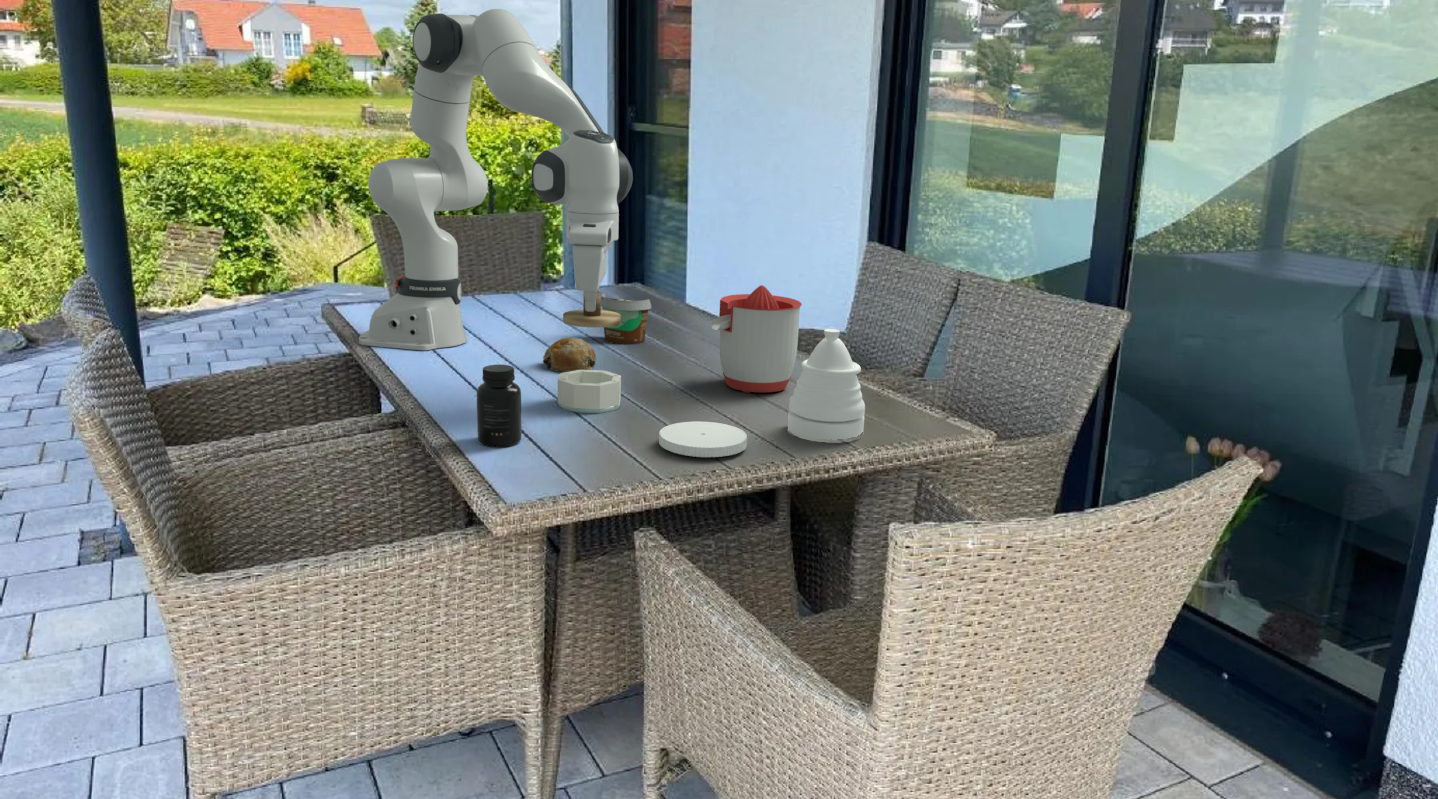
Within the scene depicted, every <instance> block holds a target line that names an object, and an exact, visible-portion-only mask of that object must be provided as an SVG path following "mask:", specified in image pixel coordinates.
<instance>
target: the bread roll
mask: <svg viewBox="0 0 1438 799" xmlns="http://www.w3.org/2000/svg"><path fill="white" fill-rule="evenodd" d="M542 358H543V359H542V363H543V364H544V365H546V368H547V369H549V370H551V371H554V372H559V373H565V372H570V371H576V370H594V367H595V365H596V360H597V358H596V353H595V350H594V349H593V347H592V346H591V344H589V343H588V342H586V341H584V340H583V339H582V338H576V337H564V338H561V339H559V340H557V341H555V342H553V343H552V344H551V345H550V346H549V347H548V348H546V349H545V352H544V355H543V356H542Z"/></svg>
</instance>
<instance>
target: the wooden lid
mask: <svg viewBox="0 0 1438 799" xmlns="http://www.w3.org/2000/svg"><path fill="white" fill-rule="evenodd" d="M601 297H602V292H601V291H600V290H599V291H597V292H596V309H595V311H593V312H590V311H586V310H585V298H584V297H583V307H582V309H576V310H575V309H574V310H569V311H565V312H564V313H563V314H562V322H563V323H564V324H565V325H570V326H572V327H573V326H574V327H579V328H580V327H581V328H604V327H610V326H615V325H618V324H620V323H621V315H620V314H619V313H616V312H612V311H606V310H603V309H601V308H602V307H601Z"/></svg>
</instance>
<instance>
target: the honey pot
mask: <svg viewBox="0 0 1438 799" xmlns="http://www.w3.org/2000/svg"><path fill="white" fill-rule="evenodd" d="M840 332H841V331H840V330H839V329H834V328H825V329H823V334H824V338H823V339H821V341H819V343H818V344H817V345H816V346H815V347H814V349H813V351H811V354H810V355H809V357H808V359H805V360H803V361H802V362H801V363H800V366H801V369H802V371H801V374H800V376H799V378H797V380H796V386H795V387H794V389H793V394H792V395H791V396H790V398H789V400H788V402H789V403H788V404H789V405H788V414H787V415H788V416H787V418H788V419H787V427H788V429H787V431H788V430H790V431H791V432H792V433H796V434H798V435H800V436H803V437H810V438H816V439H827V440H830V439H832V440H837V439H847V438H851V437H857V436H858V435H860V434H861V433H862V432H863V433H864V427H865V413H866V412H865V411H866V405H865V401H864V400H863V393H862V391H861V388H862V387H861V383H859V379H858V376H857V375H859V373H860V372H861V371H862V368H861V366H860V365H859V364H858V363H857V362H854V361H853V360H852V357H851V355H850V352H849V350H848V349H847V346H845V343H844V342H843V341H842V340H841V339H840V338H839V336H840Z"/></svg>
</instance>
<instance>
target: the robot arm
mask: <svg viewBox="0 0 1438 799" xmlns="http://www.w3.org/2000/svg"><path fill="white" fill-rule="evenodd" d="M412 49H413V53H414V56H415V58H416V60H417V62H418V67H417V70H416V74H415V75H416V76H415V80H414V87H413V94H412V95H413V96H412V102H411V103H412V104H411V109H410V119H409V123H410V127H411V129H412V132H413V133H414V134H415V136H416V137H417V138H418V139H420V141H422V142H424V143H425V144H427V145H429V156H428V157H421V158H420V157H409V158H408V157H406V158H405V157H398V158H395V159H389V160H384V161H381V162H377V163H376V164H375V165H374V167H373V168H372V170H371V172H370V173H369V177H368V185H367V186H368V191H369V194H370V197H371V200H373V202H374V203H375V205H376V206H377V207H378V208H380V209H381V210H382V211H384V212H385V213H386V214H387V215H388V216H389V217H390V218H391V220H392V221H393V222H394V224H395V225H396V227H397V229H398V232H399V234H400V237H401V241H402V246H403V247H402V248H403V260H404V273H403V274H401V275H400V276H398V278H397V279H396V280H395V282H394V287H395V290H396V292H397V293H396V294H394V295H393V296H392V297H390V298H389V299H388V300H386V301H385V302H384V303H383V304H381V305H380V306H379V307H377V308H376V309H375V310H374V311H373V312H372V314H371V317H370V323H369V328H368V329H369V330H366V331H365V332H363V333H362V334H360V335H359V337H358V343H359V345H361V346H369V347H379V348H380V347H381V348H392V349H404V350H413V351H414V350H415V351H416V350H417V351H429V350H436V349H441V348H450V347H456V346H459V345H463V344H464V343H466V342H468V338H467V335H466V332H465V327H464V324H463V318H462V312H461V304H460V303H461V302H462V282H461V277H460V276H459V246H458V245H459V244H458V243H457V240H456V239H455V237H454V236H453V235H452V234H450V233H449V232H448V231H446V230H444V229H442V228H440V227H439V226H438V224H437V222H436V220H435V212H444V211H445V212H447V211H448V212H449V211H453V212H454V211H463V210H466V209H470V208H473V207H474V208H475V207H476V206H480V205H481V204H482V203H483V201H484V199H485V198H486V196H487V193H488V186H489V185H488V184H489V183H488V177H487V175H486V172H485V170H484V169H483V167H482V166H481V165H480V164H479V163H478V162H477V161H476V160H475V159H474V157H473V156H472V154H471V151H470V149H469V145H468V138H467V131H468V130H467V129H468V117H469V111H470V110H469V109H470V103H471V96H472V88H473V87H472V86H473V79H474V78H475V76H478V77H479V76H481V77H482V78H483V79H484V81H485V83H486V86H487V88H488V89H489V91H490V93H491V94H492V95H493V97H494V99H496V101H497V102H499V104H500V105H502V106H503V107H505V108H506V109H508V110H510V111H513V112H517V113H519V114H520V113H521V114H524V115H527V116H531V117H536V118H538V119H542V120H544V121H546V122H549V123H552V124H553V125H556V126H557V127H559V128H560V129H561V130H562V131H563V132H564V133H565V134H566V136H567V138H568V139H567V140H566V141H565V142H563V143H562V144H560V145H558V146H556V147H552V148H550V149H545V150H543V151H541V152H540V153H539V154H538V156H537V157H536V158H535V159H534V162H533V164H532V168H531V184H532V187H533V190H534V192H535V194H536V195H537V197H538V198H540V199H541V201H543V202H544V203H547V204H551V205H567V209H566V238H567V239H568V244H569V245H572V264H573V273H574V274H573V276H574V283H575V288H576V290H577V291H581V292H583V299H584V298H585V310H586V311H590V312H593V311H595V309H596V292H597V291H599V292H600V287H601V284H602V282H603V280H604V278H605V276H606V274H607V269H608V251H609V250H612V249H611V248H612V245H611V244H612V242H615V241H618V240H619V229H620V228H619V222H620V220H619V219H620V218H619V216H620V213H619V211H620V210H619V204H620V203H621V202H622V201H623V200H624V199H625V198H626V197H627V196H628V193H629V191H630V190H631V188H632V186H633V185H632V184H633V181H634V176H633V168H632V166H631V164H630V162H629V159H628V158H627V157H626V155H625V154H624V153H623V152H622V151H621V149H620V148H618V145H617V142H616V139H615V138H614V137H613V136H611V135H610V134H608V133H606V132H604V130H603V129H602V127H601V125H600V124H599V123H598V121H597V120H596V118H595V117H594V116H593V113H591V111H590V110H589V108H588V107H587V106H586V104H585V103H584V101H583V100H582V98H581V96H580V95H579V94H578V93H577V92H576V90H574V89H573V88H572V87H571V86H570V85H569V84H568V83H567V82H565V81H563V80H562V78H560V77H559V75H557V74H556V73H555V72H554V71H553V70H552V69H551V67H550V66H549V65H548V64H547V62H546V61H545V60H544V59H543V57H542V55H541V54H540V52H539V50H538V49H537V47H536V44H535V42H534V41H533V39H532V37H531V36H530V35H529V33H528V31H527V30H526V29H525V27H524V26H523V24H522V23H521V22H520V21H519V19H517V17H516V16H515V15H514V14H513V13H511V12H510V11H507V9H502V8H493V9H488V10H485V11H484V12H482V13H481V14H479V15H476V14H469V15H465V14H444V13H431V14H426V15H424V16H422V17H420V19H419V20H418V22H417V23H416V24H415V27H414V30H413V33H412Z"/></svg>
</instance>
